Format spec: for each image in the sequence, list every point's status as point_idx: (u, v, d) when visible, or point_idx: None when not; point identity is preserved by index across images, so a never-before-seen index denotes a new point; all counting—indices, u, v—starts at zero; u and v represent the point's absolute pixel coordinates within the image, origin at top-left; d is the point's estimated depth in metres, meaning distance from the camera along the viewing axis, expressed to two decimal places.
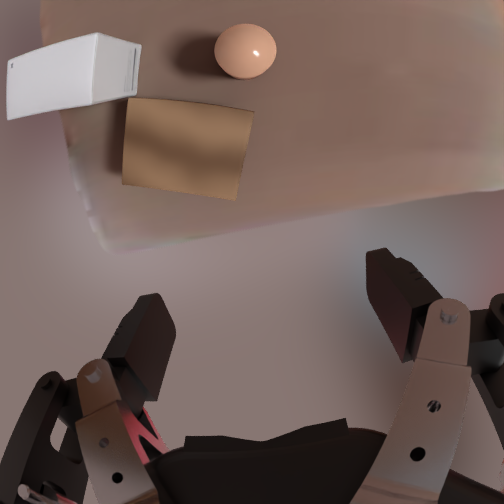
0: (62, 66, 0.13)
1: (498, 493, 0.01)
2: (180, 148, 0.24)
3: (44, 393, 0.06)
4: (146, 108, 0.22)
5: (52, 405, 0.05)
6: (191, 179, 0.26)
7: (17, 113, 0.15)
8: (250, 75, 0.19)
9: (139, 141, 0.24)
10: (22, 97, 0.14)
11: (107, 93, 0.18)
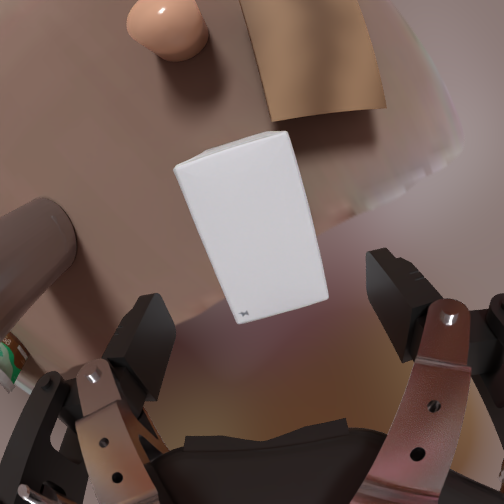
0: (234, 207, 0.14)
1: (498, 493, 0.01)
2: (315, 39, 0.15)
3: (44, 393, 0.06)
4: (279, 93, 0.17)
5: (51, 404, 0.05)
6: (347, 22, 0.14)
7: (318, 279, 0.16)
8: None
9: (325, 91, 0.17)
10: (293, 274, 0.16)
11: None
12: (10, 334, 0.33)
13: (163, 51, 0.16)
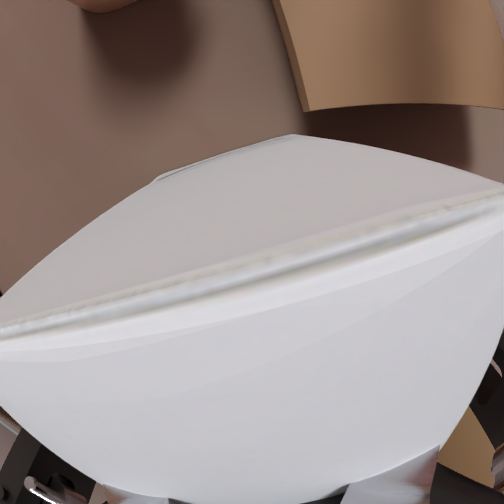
0: (191, 496, 0.02)
1: (498, 493, 0.01)
2: None
3: None
4: (327, 38, 0.05)
5: None
6: None
7: None
8: None
9: (429, 52, 0.05)
10: None
11: (335, 150, 0.04)
12: None
13: None
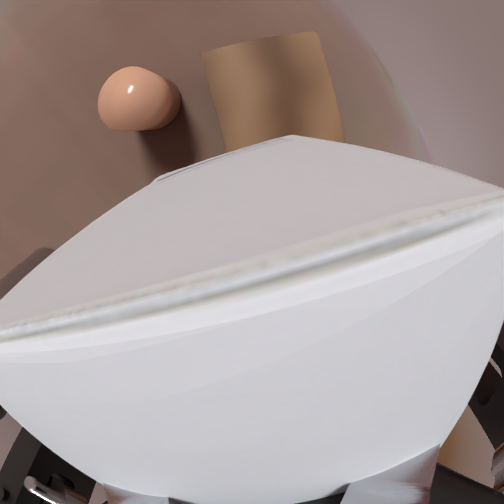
0: (191, 495, 0.03)
1: (498, 493, 0.01)
2: (280, 110, 0.18)
3: None
4: None
5: None
6: (313, 86, 0.18)
7: None
8: (150, 74, 0.15)
9: None
10: None
11: (333, 152, 0.04)
12: None
13: (138, 130, 0.19)
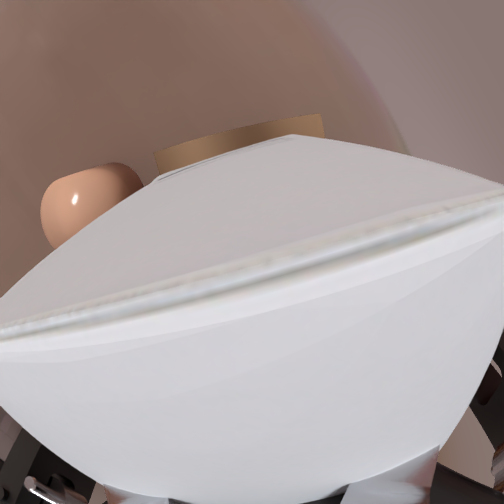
0: (192, 497, 0.02)
1: (498, 493, 0.01)
2: None
3: None
4: None
5: None
6: None
7: None
8: (91, 190, 0.12)
9: None
10: None
11: (335, 150, 0.04)
12: None
13: None
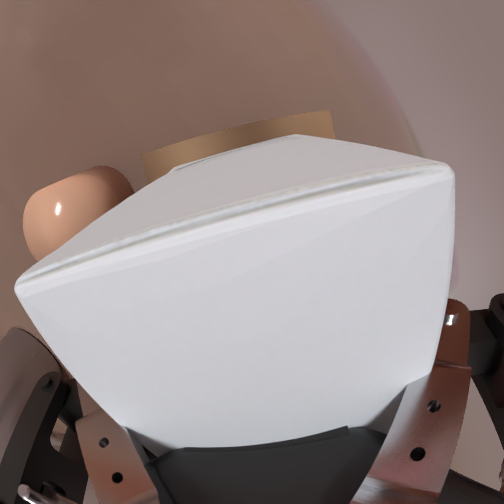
0: (216, 419, 0.04)
1: (498, 493, 0.01)
2: None
3: (44, 393, 0.06)
4: None
5: (52, 405, 0.05)
6: None
7: None
8: (73, 201, 0.11)
9: None
10: None
11: (332, 145, 0.05)
12: None
13: None
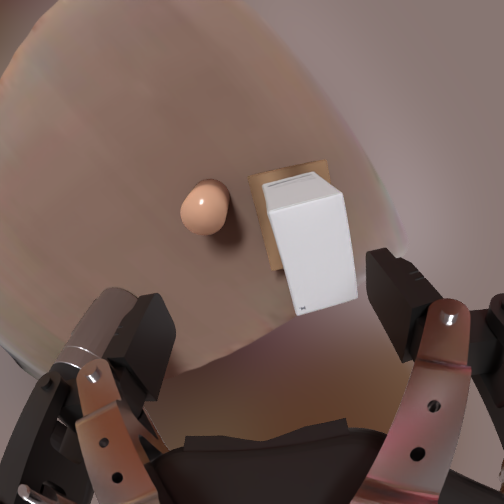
0: (306, 239, 0.22)
1: (498, 493, 0.01)
2: None
3: (44, 393, 0.06)
4: (275, 255, 0.34)
5: (51, 404, 0.05)
6: None
7: (352, 285, 0.24)
8: (216, 198, 0.29)
9: None
10: (337, 282, 0.24)
11: (325, 186, 0.23)
12: None
13: None
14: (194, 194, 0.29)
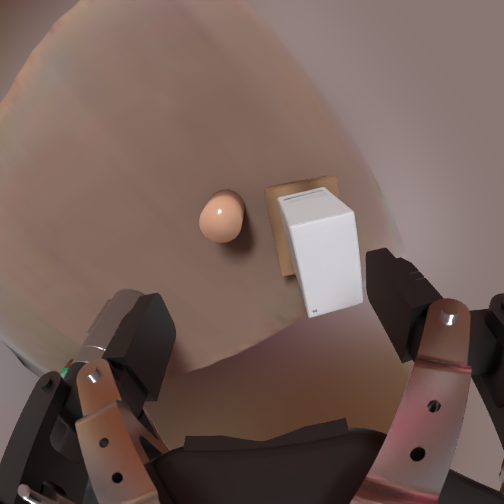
0: (321, 251, 0.25)
1: (498, 493, 0.01)
2: None
3: (44, 393, 0.06)
4: (286, 262, 0.37)
5: (52, 405, 0.05)
6: None
7: (358, 291, 0.27)
8: (232, 208, 0.32)
9: None
10: (346, 288, 0.26)
11: (337, 203, 0.26)
12: None
13: None
14: (211, 205, 0.31)
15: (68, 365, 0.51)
